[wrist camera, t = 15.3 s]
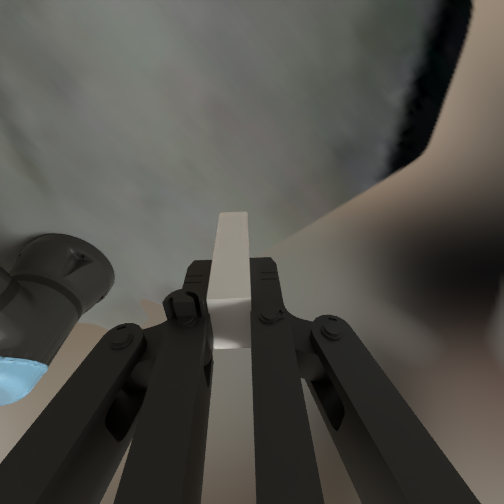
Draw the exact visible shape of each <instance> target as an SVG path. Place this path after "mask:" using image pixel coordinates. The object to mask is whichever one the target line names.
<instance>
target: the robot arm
mask: <svg viewBox="0 0 504 504" xmlns="http://www.w3.org/2000/svg"><path fill="white" fill-rule="evenodd" d="M113 283H114V271H113V268H112V266H111V264H110V262H109V261H108V259H107V258H106V257H105V256H104V255H103V254H102V253H101V252H100V251H99V250H98V249H96V248H95V247H94V246H92V245H90V244H89V243H87V242H85V241H83V240H80V239H78V238H75V237H72V236H68V235H61V234H49V235H43V236H40V237H38V238H36V239H34V240H33V241H31V242H30V243H29V244H28V245H26V246H25V247H24V248H23V249H22V250H21V252H20V253H19V255H18V257H17V260H16V264H15V265H14V267H13V269H12V271H11V272H10V274H9V273H7V272H6V271H5V270H4V269H3V268H2V267H1V266H0V406H2V405H7V404H10V403H13V402H16V401H18V400H20V399H22V398H23V397H25V396H26V395H27V394H28V393H29V392H30V391H31V390H32V389H33V387H34V386H35V385H36V383H37V382H38V381H39V379H40V378H41V377H42V376H43V374H44V373H45V372H47V370H48V366H49V365H50V363H51V362H52V360H53V359H54V357H55V355H56V354H57V352H58V351H59V349H60V348H61V346H62V345H63V343H64V342H65V340H66V339H67V337H68V336H69V334H70V332H71V331H72V329H73V328H74V326H75V325H76V323H77V321H78V320H79V318H80V317H81V316H82V315H83V314H84V313H85V312H87V311H88V310H89V309H91V308H92V307H93V306H94V305H95V304H96V303H98V302H100V301H101V300H102V299H103V298H105V296H106V295H107V294H108V292H109V291H110V289H111V287H112V286H113ZM163 307H164V310H165V313H166V317H167V321H165V322H163V323H161V324H159V325H156V326H153V327H150V328H146V329H143V330H142V329H141V327H140V326H139V325H136V324H134V323H125V324H121V325H118V326H116V327H114V328H112V329H111V330H109V331H108V332H107V333H106V334H105V335H104V336H103V337H102V338H101V340H100V341H99V342H98V343H97V344H96V346H95V347H94V348H93V349H92V351H91V352H90V353H89V354H88V356H87V357H86V358H85V359H84V361H83V362H82V363H81V365H80V366H79V367H78V368H77V369H76V371H75V372H74V373H73V374H72V376H71V377H70V378H69V379H68V380H67V382H66V383H65V384H64V385H63V387H62V388H61V389H60V391H59V392H58V393H57V394H56V395H55V397H54V398H53V399H52V400H51V402H50V403H49V404H48V405H47V407H46V408H45V409H44V410H43V411H42V413H41V414H40V415H39V417H38V418H37V419H36V420H35V422H34V423H33V424H32V425H31V427H30V428H29V429H28V430H27V431H26V433H25V434H24V435H23V436H22V438H21V439H20V440H19V441H18V443H17V444H16V445H15V446H14V447H13V449H12V450H11V451H10V452H9V454H8V455H7V456H6V457H5V459H4V460H3V461H2V462H1V464H0V504H100V502H101V500H102V498H103V496H104V494H105V492H106V490H107V488H108V486H109V484H110V482H111V480H112V478H113V476H114V474H115V472H116V470H117V468H118V466H119V464H120V462H121V460H122V458H123V456H124V454H125V452H126V450H127V448H128V446H129V444H130V442H131V440H132V442H131V446H130V449H129V453H128V456H127V460H126V463H125V466H124V470H123V473H122V476H121V480H120V483H119V487H118V490H117V493H116V497H115V500H114V504H201V494H202V484H203V472H204V461H205V451H206V440H207V439H206V438H207V429H208V418H209V407H210V397H211V385H212V375H213V363H214V362H213V355H212V352H213V344H214V349H228V348H251V352H252V353H251V355H252V386H253V414H254V444H255V476H256V504H324V499H323V494H322V489H321V484H320V478H319V473H318V468H317V463H316V457H315V453H314V447H313V442H312V436H311V431H310V426H309V421H308V415H307V410H306V405H305V400H304V394H303V389H302V384H301V379H300V378H304V379H305V381H306V383H307V385H308V387H309V389H310V392H311V394H312V396H313V398H314V400H315V402H316V405H317V407H318V409H319V411H320V413H321V415H322V418H323V420H324V422H325V424H326V426H327V429H328V431H329V433H330V435H331V437H332V439H333V442H334V444H335V446H336V448H337V450H338V452H339V455H340V457H341V459H342V461H343V463H344V466H345V468H346V470H347V472H348V474H349V476H350V479H351V481H352V483H353V485H354V487H355V489H356V492H357V494H358V496H359V498H360V500H361V503H362V504H481V503H480V502H479V501H478V499H477V498H476V496H475V495H474V494H473V492H472V491H471V490H470V488H469V487H468V486H467V484H466V483H465V482H464V480H463V479H462V478H461V476H460V475H459V473H458V472H457V471H456V469H455V468H454V467H453V465H452V464H451V462H450V461H449V460H448V458H447V457H446V456H445V455H444V453H443V452H442V450H441V449H440V448H439V446H438V445H437V443H436V442H435V441H434V439H433V438H432V437H431V435H430V434H429V433H428V431H427V430H426V429H425V427H424V426H423V424H422V423H421V422H420V420H419V419H418V418H417V416H416V415H415V414H414V412H413V411H412V409H411V408H410V407H409V406H408V404H407V403H406V402H405V400H404V399H403V397H402V396H401V395H400V393H399V392H398V390H397V389H396V388H395V386H394V385H393V384H392V382H391V381H390V380H389V378H388V377H387V376H386V374H385V373H384V371H383V370H382V369H381V367H380V366H379V365H378V363H377V362H376V361H375V359H374V358H373V357H372V355H371V354H370V352H369V351H368V350H367V348H366V347H365V346H364V344H363V343H362V342H361V340H360V339H359V337H358V336H357V335H356V333H355V332H354V331H353V329H352V328H351V327H350V325H349V324H348V323H346V321H344V320H343V319H341V318H339V317H337V316H333V315H322V316H319V317H317V318H316V319H315V320H314V321H313V322H312V321H308V320H303V319H300V318H297V317H295V316H293V315H291V314H290V313H289V312H288V311H287V310H286V308H285V306H284V303H283V299H282V293H281V288H280V282H279V277H278V271H277V265H276V263H275V262H274V261H273V260H272V258H270V257H264V258H249V240H248V217H247V212H220V214H219V220H218V227H217V233H216V240H215V246H214V253H213V259H212V260H195V261H193V262H192V264H191V265H190V266H189V267H188V269H187V273H186V277H185V280H184V284H183V287H182V289H179V290H176V291H174V292H172V293H170V294H169V295H168V296H167V297H166V298H165V299H164V301H163ZM132 438H133V439H132Z"/></svg>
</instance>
